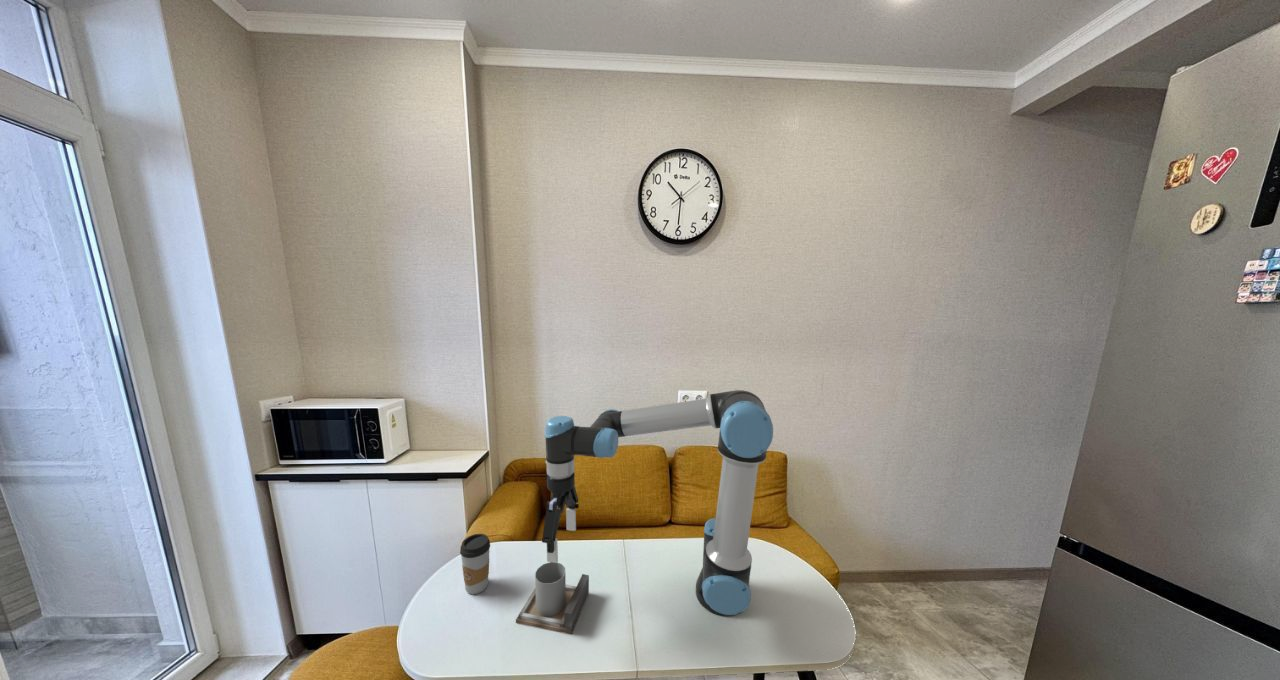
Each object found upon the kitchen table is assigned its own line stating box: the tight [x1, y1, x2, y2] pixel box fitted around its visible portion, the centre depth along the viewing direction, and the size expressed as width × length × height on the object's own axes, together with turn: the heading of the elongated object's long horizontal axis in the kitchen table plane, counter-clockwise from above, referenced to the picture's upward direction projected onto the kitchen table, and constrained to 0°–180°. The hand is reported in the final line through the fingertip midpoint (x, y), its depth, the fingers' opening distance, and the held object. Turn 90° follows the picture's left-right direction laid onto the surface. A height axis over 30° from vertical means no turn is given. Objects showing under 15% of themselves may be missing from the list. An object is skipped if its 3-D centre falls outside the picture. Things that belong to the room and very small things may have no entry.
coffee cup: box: [459, 533, 491, 595], centre depth 114 cm, size 8×8×15 cm
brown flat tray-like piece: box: [515, 573, 590, 635], centre depth 108 cm, size 16×14×6 cm
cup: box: [534, 561, 567, 617], centre depth 107 cm, size 8×8×10 cm
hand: (562, 544), depth 106 cm, fingers open, 13 cm apart
